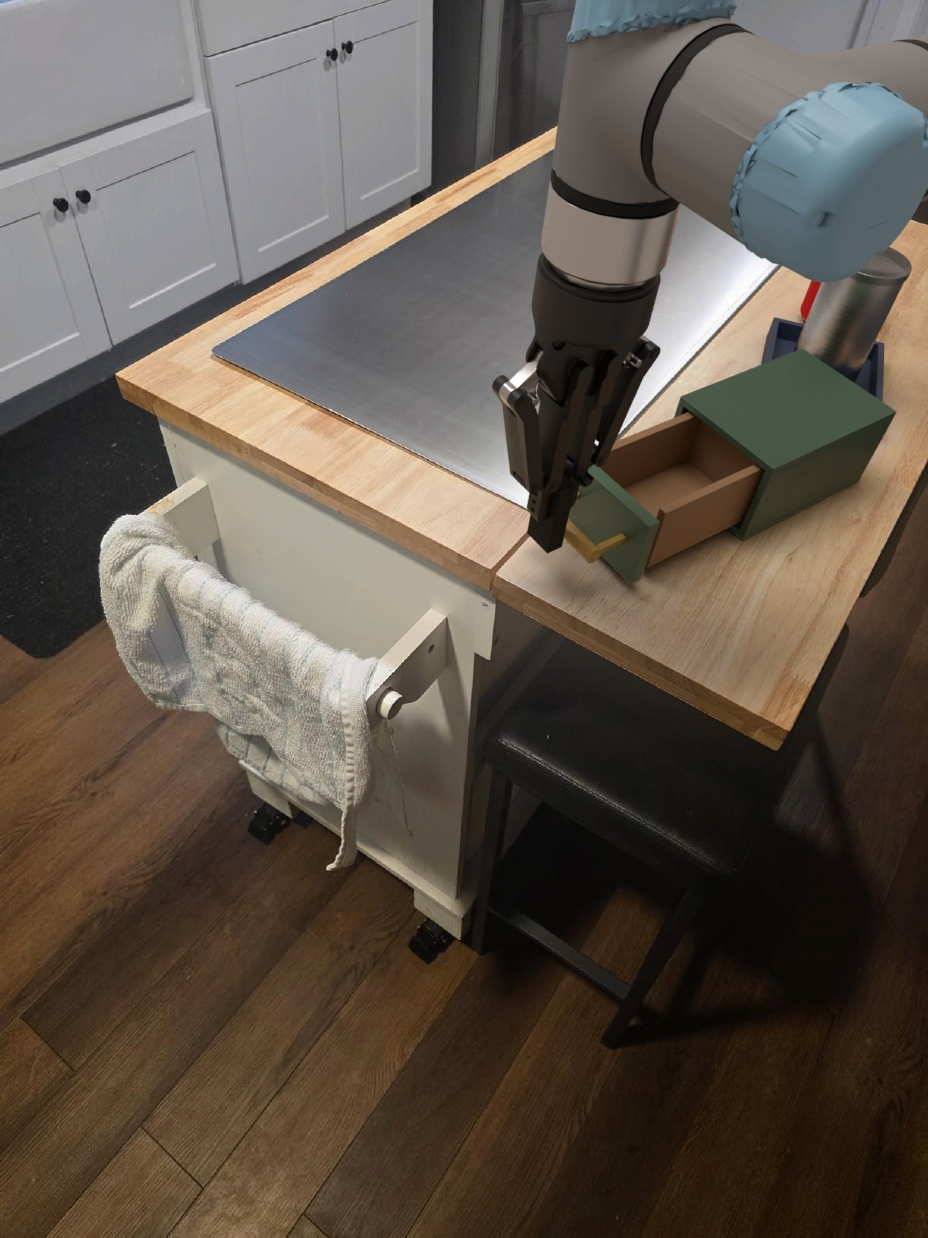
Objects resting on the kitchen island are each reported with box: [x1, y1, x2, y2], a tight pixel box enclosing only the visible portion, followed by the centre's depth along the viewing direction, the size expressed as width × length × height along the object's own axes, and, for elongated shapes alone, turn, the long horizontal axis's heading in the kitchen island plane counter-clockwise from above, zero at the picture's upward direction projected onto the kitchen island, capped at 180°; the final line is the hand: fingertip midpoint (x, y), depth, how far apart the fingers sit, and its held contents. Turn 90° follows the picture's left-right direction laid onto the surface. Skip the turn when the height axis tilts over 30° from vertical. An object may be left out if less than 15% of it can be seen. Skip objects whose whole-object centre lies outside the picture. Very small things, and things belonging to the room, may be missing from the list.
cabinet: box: [673, 349, 897, 541], centre depth 82 cm, size 16×11×8 cm
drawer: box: [563, 412, 765, 585], centre depth 75 cm, size 20×10×7 cm, turn 124°
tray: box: [760, 316, 885, 403], centre depth 95 cm, size 15×12×3 cm
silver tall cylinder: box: [793, 246, 913, 383], centre depth 90 cm, size 8×8×14 cm
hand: (544, 539), depth 70 cm, fingers closed
